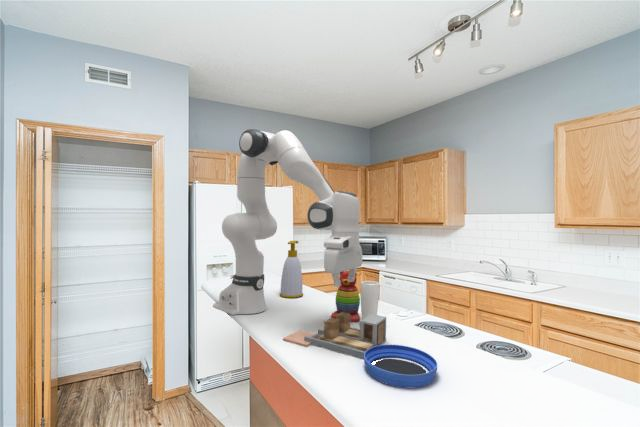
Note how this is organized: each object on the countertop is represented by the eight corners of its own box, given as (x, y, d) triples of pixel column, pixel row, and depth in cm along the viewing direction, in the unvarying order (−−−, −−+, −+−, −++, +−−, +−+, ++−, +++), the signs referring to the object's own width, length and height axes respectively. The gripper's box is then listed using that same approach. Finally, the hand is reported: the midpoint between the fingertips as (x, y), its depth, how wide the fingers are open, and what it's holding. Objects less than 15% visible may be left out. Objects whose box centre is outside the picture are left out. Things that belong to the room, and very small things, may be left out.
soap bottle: (306, 294, 162) (308, 240, 162) (298, 299, 151) (299, 242, 151) (285, 291, 166) (287, 239, 166) (275, 297, 155) (277, 241, 155)
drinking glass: (378, 327, 116) (379, 285, 116) (358, 326, 117) (359, 283, 117) (378, 321, 122) (379, 281, 122) (360, 320, 124) (361, 280, 124)
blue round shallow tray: (426, 399, 71) (426, 382, 72) (351, 375, 81) (352, 361, 81) (443, 367, 87) (444, 354, 87) (379, 351, 96) (379, 339, 96)
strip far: (331, 333, 107) (332, 314, 107) (337, 329, 110) (338, 311, 110) (378, 344, 98) (378, 323, 98) (383, 340, 102) (383, 320, 102)
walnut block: (359, 336, 101) (360, 321, 101) (365, 332, 105) (366, 318, 105) (377, 340, 98) (378, 325, 98) (383, 336, 102) (383, 321, 102)
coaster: (282, 340, 102) (282, 338, 102) (299, 331, 110) (299, 330, 110) (306, 346, 97) (306, 344, 97) (322, 337, 105) (322, 335, 105)
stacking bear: (329, 319, 124) (330, 271, 124) (337, 312, 133) (339, 268, 133) (356, 323, 120) (358, 274, 120) (363, 315, 129) (365, 270, 129)
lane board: (304, 342, 100) (304, 317, 100) (330, 328, 114) (331, 306, 114) (364, 359, 90) (365, 331, 90) (385, 341, 103) (386, 316, 104)
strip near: (319, 340, 100) (319, 319, 100) (326, 336, 104) (326, 316, 104) (368, 353, 92) (368, 330, 92) (373, 348, 95) (374, 327, 95)
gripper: (351, 239, 117) (350, 277, 117) (320, 242, 100) (319, 287, 100) (367, 240, 114) (366, 280, 114) (339, 243, 97) (337, 290, 97)
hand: (344, 283), depth 107 cm, fingers open, 8 cm apart
